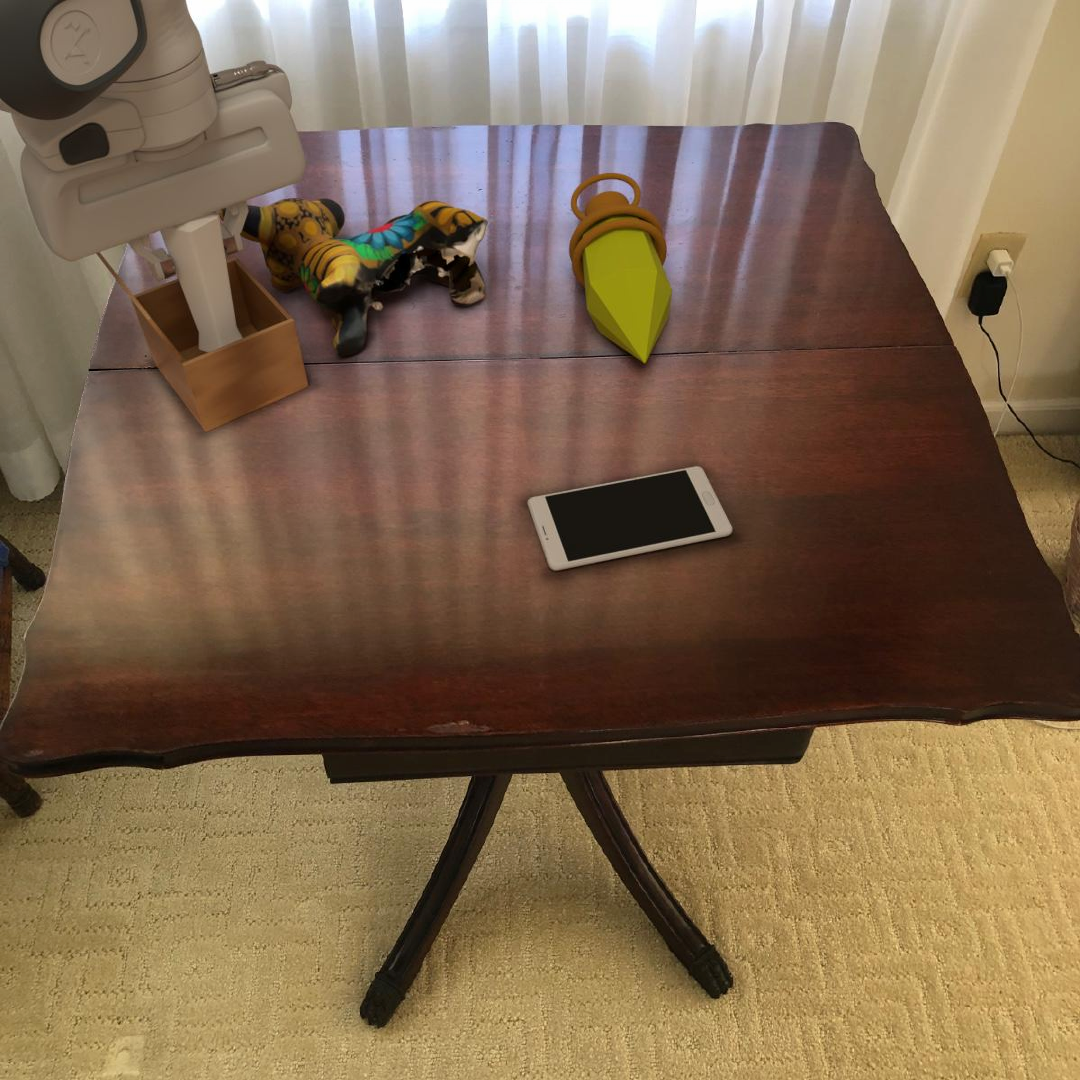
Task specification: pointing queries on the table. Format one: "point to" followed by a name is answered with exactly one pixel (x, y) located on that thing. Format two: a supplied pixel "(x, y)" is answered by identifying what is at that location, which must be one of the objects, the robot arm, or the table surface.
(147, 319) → the carton flap
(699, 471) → the smartphone
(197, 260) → the perfume bottle
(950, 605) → the table surface
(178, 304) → the carton
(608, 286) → the plumb bob
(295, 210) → the multicolored animal figure
